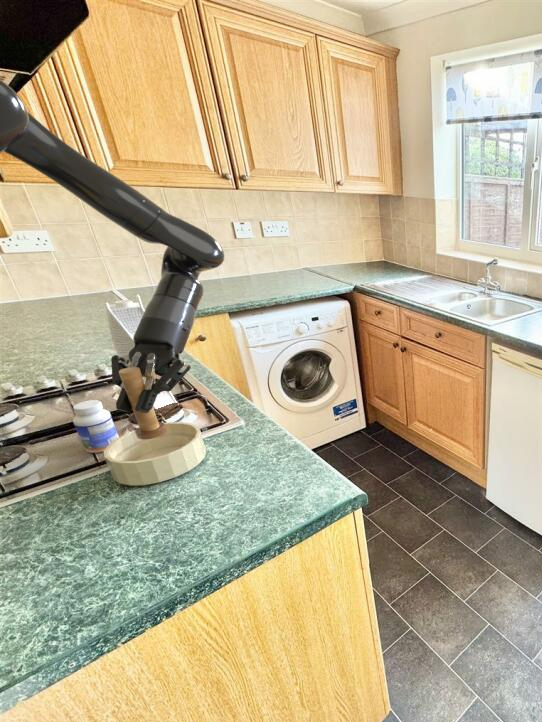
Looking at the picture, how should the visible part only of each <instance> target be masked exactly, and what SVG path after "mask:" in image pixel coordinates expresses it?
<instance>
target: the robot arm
mask: <svg viewBox="0 0 542 722" xmlns="http://www.w3.org/2000/svg"><path fill="white" fill-rule="evenodd" d="M3 152H4V153H5V154H8V155H9V156H11V157H13V158H15V159H17V160H19V161H21V162H23V163H24V164H26V165H27V166H29V167H31V168H33V169H34V170H36V171H38V172H39V173H41V174H42V175H44V176H46V177H47V178H49V179H50V180H52V181H54V182H55V183H56V184H58V185H59V186H61V187H62V188H64V189H65V190H66V191H68V192H70V193H71V195H74V196H75V197H76V198H78V199H80V200H81V201H82V202H83V203H84V204H86V205H88V206H89V207H90V208H92V209H93V210H95V211H96V212H98V213H99V214H101V215H102V216H103V217H104V218H106V219H108V220H110V221H111V222H113V223H114V224H116V225H117V226H118V227H120V228H122V229H124V230H125V231H127V232H128V233H130V234H131V235H133V236H135V237H136V238H138V239H140V240H141V241H143V242H145V243H148V244H154V245H155V244H156V245H163V246H166V249H165V251H164V253H163V256H162V262H161V270H160V280H159V282H158V284H157V286H156V288H155V291H154V293H153V295H152V298H151V299H150V301H149V302H148V303H147V305H146V307H145V308H144V310H145V312H144V314H143V316H142V319H141V321H140V323H139V326H138V328H137V330H136V333H135V335H134V337H133V340H134V342H135V346H134V348H133V349H132V350H131V351H130V352H129V354H128V355H125V356H122V357H120V356H118V355H117V354H115V355H113V356H112V357H110V361H111V362H110V363H111V380H112V381H111V383H112V384H113V385H116V386H118V387H120V388H121V389H120V392H119V394H118V397H117V400H116V402H115V408H116V410H118V411H121V412H124V413H129V412H131V411H132V406H131V404H130V401H129V398H128V396H127V393H126V390H125V388H124V385H123V382H122V380H121V377H120V374H119V371H120V370H122V369H125V368H129V367H138V368H140V371H141V374H142V377H143V380H144V382H145V381H146V382H145V386H144V389H145V390H142V392H141V394H140V397H139V399H138V402H137V404H136V407H135V410H136V411H138V412H141V413H148V412H149V411H150V410H151V409H152V408H153V404H154V402H155V400H156V397H157V395H158V394H160V393H161V392H163V391H167V392H169V391H171V392H172V390H173V389H174V388H175V387H176V386H177V385H178V384H179V382H180V381H182V379H183V378H184V377H185V376H186V375H187V373H188V372H189V371H190V369H191V368H192V366H191V365H190V364H188V363H187V362H185V361H183V360H181V359H180V355H181V354H183V352H184V350H185V348H186V346H187V343H188V341H189V340H188V339H189V337H190V335H191V333H192V329H193V327H194V324H195V320H196V316H197V311H198V310H199V306H200V304H201V301H202V299H203V297H204V292H205V291H204V290H205V289H204V286H203V284H202V283H201V282H200V281H199V276H200V275H201V273H202V272H206V271H211V270H214V269H217V268H219V267H220V266H221V265H223V263H224V261H225V251H224V249H223V248H222V246H221V244H220V243H219V242H218V241H217V239H216V238H215V237H213V236H212V235H211V234H209V233H208V232H206V231H205V230H204V229H201V228H199V227H197V226H195V225H194V224H192V223H189V222H188V221H185V220H184V219H182V218H179V217H178V216H175V215H173V214H171V213H169V212H168V211H166V210H165V209H163V208H162V207H161V206H159V205H158V204H157V203H155V202H154V201H152V200H151V199H149V198H148V197H147V196H146V195H144V194H143V193H141V192H140V191H139V190H137V189H135V188H134V186H132V185H130V184H128V183H127V182H125V181H124V180H122V179H120V178H119V177H117V176H116V175H114V174H113V173H111V172H110V171H108V170H106V169H105V168H103V167H102V166H100V165H98V164H97V163H95V162H94V161H93V160H91V159H89V158H88V157H86V155H85V156H84V154H81V152H79V151H78V150H76V149H74V148H73V147H72V146H70V145H69V144H67V143H66V142H64V141H63V140H62V139H61V138H59V137H58V136H57V135H56V134H54V133H53V132H52V131H51V130H49V129H48V128H47V127H46V126H45V125H43V124H42V123H41V122H40V121H39V119H36V118H35V117H34V116H33V115H32V114H31V113H30V112H29V111H28V109H27V106H26V105H25V103H24V101H23V100H22V98H21V97H20V96H19V95H18V93H17V92H16V91H15V90H14V89H13V87H10V85H9V84H7V83H6V82H4V81H3V80H1V79H0V154H2V153H3ZM154 382H155V383H154Z"/></svg>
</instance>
